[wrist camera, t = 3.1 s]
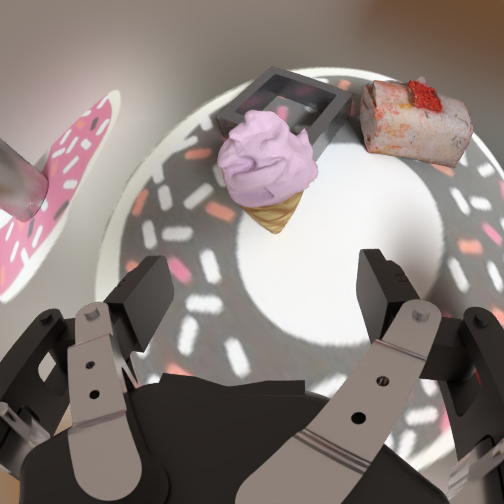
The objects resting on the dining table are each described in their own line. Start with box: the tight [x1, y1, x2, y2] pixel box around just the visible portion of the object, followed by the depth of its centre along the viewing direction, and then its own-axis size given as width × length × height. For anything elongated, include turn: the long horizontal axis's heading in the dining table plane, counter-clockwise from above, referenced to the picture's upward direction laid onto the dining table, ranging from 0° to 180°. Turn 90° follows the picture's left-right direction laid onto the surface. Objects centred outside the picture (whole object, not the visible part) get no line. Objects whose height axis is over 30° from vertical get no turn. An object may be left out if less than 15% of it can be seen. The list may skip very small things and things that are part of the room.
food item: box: [360, 76, 474, 168], centre depth 26 cm, size 14×8×10 cm, turn 82°
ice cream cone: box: [217, 110, 318, 234], centre depth 22 cm, size 7×6×15 cm
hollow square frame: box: [217, 66, 353, 162], centre depth 32 cm, size 12×12×4 cm
